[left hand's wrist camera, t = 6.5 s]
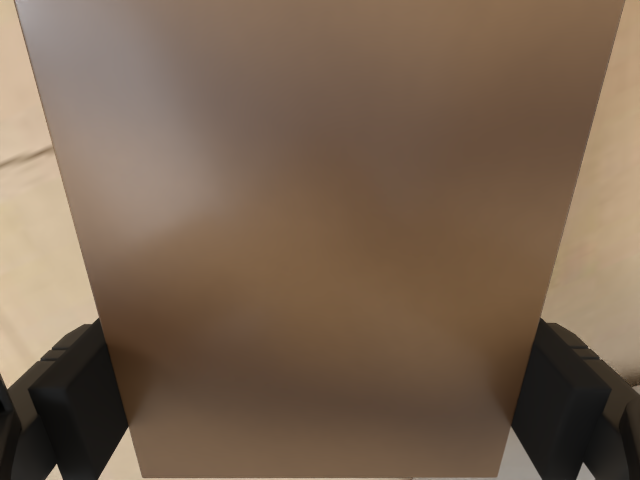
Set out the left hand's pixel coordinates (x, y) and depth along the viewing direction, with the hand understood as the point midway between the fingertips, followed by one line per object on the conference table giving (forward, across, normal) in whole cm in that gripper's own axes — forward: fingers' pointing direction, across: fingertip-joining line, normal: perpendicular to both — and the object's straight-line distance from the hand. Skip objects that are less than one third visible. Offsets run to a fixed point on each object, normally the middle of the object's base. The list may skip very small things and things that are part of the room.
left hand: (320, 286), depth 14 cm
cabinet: (+7, 0, -7) cm, 10 cm away
